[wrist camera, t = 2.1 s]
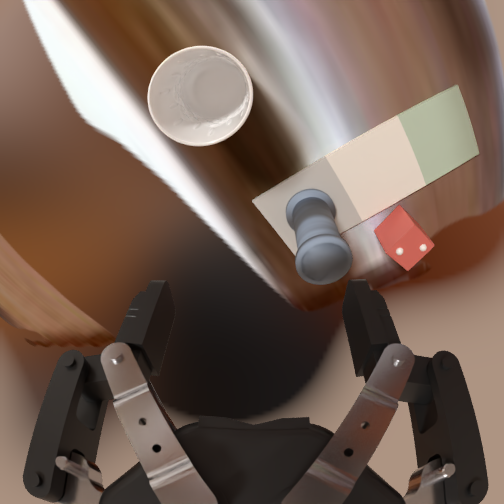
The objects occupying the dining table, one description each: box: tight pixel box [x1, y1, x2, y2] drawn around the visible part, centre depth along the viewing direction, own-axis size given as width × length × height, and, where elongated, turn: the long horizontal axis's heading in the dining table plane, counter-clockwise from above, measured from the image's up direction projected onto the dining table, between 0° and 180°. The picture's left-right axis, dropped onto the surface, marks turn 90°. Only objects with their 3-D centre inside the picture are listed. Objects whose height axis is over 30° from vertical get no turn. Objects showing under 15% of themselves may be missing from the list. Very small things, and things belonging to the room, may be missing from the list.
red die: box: [374, 205, 434, 271], centre depth 33 cm, size 5×5×6 cm
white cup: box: [148, 46, 253, 146], centre depth 22 cm, size 8×8×10 cm
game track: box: [252, 85, 479, 256], centre depth 31 cm, size 10×30×1 cm, turn 126°
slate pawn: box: [286, 189, 353, 285], centre depth 30 cm, size 6×6×10 cm
